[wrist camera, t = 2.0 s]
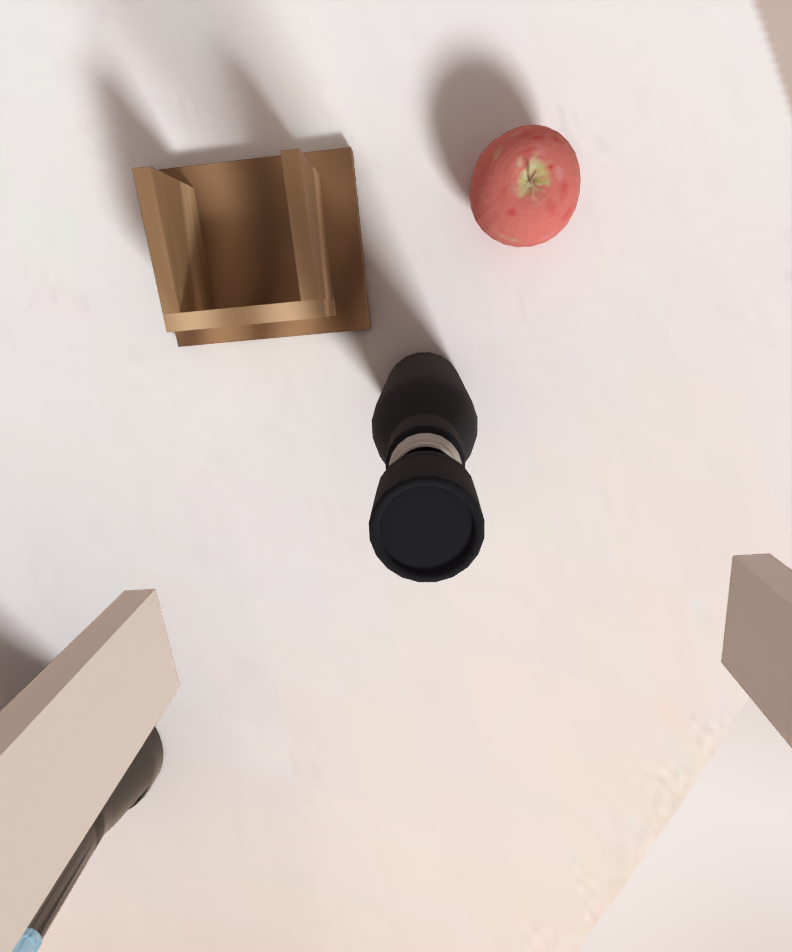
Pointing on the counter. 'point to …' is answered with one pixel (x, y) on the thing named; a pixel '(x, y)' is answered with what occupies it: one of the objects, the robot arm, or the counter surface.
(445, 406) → the wine bottle
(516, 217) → the apple
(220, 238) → the u rest
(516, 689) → the counter surface
